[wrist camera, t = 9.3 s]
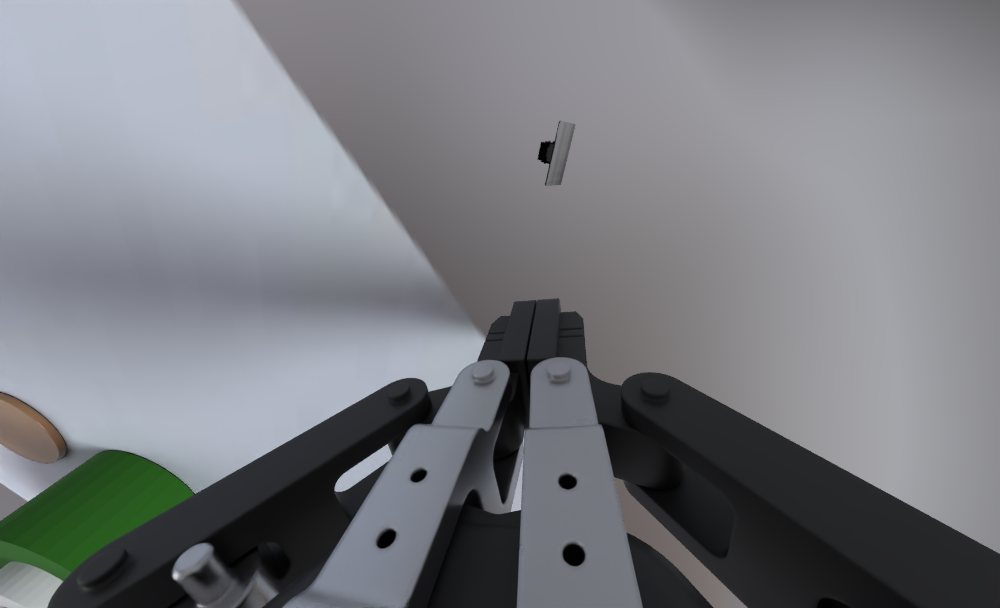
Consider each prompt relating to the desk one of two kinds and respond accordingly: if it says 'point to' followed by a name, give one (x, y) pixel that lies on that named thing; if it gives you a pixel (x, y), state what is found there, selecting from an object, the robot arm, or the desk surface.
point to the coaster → (28, 432)
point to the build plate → (557, 153)
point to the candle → (79, 522)
